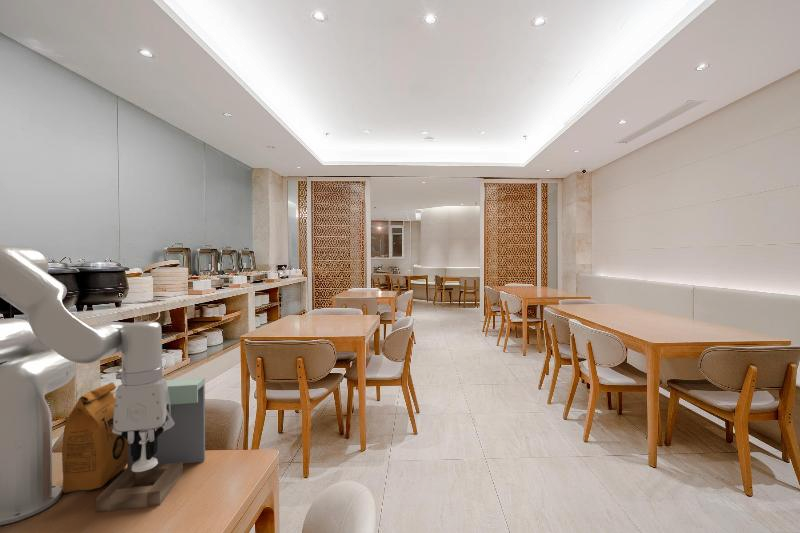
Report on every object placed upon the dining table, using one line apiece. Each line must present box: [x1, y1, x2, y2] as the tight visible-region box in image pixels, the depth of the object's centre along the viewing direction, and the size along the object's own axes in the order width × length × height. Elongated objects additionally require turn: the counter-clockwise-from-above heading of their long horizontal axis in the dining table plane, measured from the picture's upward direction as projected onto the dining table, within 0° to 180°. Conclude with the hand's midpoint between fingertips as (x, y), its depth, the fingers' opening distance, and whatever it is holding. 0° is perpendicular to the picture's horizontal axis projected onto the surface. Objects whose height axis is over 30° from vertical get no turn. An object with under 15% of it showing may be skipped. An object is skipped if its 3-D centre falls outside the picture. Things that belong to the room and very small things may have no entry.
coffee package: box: [61, 381, 127, 494], centre depth 88 cm, size 10×12×22 cm
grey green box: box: [126, 377, 206, 469], centre depth 93 cm, size 18×6×22 cm, turn 100°
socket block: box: [95, 462, 184, 513], centre depth 83 cm, size 12×12×3 cm
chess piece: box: [131, 430, 158, 472], centre depth 83 cm, size 5×5×10 cm
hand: (144, 456), depth 83 cm, fingers closed on chess piece
